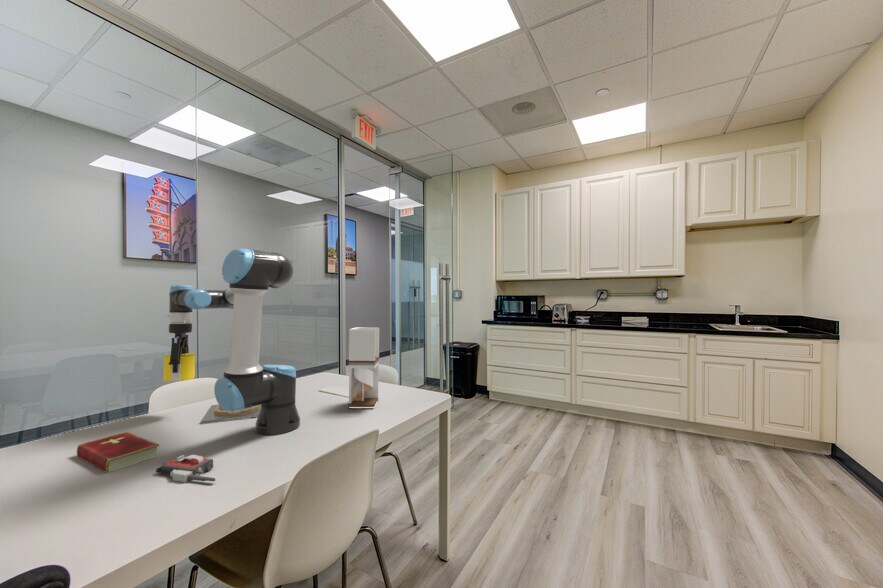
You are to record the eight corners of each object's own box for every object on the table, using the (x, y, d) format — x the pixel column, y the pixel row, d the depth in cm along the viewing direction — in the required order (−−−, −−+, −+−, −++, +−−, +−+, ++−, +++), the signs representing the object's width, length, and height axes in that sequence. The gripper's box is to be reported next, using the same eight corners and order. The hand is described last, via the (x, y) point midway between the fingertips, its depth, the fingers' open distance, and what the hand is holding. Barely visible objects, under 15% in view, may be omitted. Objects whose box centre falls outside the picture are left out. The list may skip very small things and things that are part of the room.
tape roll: (199, 375, 146) (199, 353, 146) (186, 381, 136) (186, 357, 136) (172, 376, 144) (173, 353, 144) (157, 382, 134) (158, 357, 134)
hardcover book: (106, 475, 94) (106, 459, 94) (76, 458, 104) (77, 443, 104) (158, 457, 105) (159, 443, 105) (127, 443, 115) (127, 430, 115)
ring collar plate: (265, 416, 141) (265, 410, 141) (200, 423, 132) (200, 417, 132) (267, 401, 161) (267, 396, 161) (211, 407, 152) (211, 401, 152)
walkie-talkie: (147, 479, 92) (211, 487, 88) (147, 462, 92) (211, 470, 89) (178, 464, 101) (237, 471, 97) (178, 448, 101) (237, 455, 97)
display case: (348, 408, 152) (349, 329, 153) (353, 401, 163) (355, 327, 163) (374, 409, 152) (375, 329, 153) (378, 402, 163) (379, 327, 164)
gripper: (177, 321, 149) (176, 373, 149) (160, 325, 129) (158, 385, 128) (198, 321, 152) (197, 372, 152) (184, 324, 132) (183, 383, 131)
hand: (179, 378), depth 140 cm, fingers closed on tape roll, 10 cm apart
